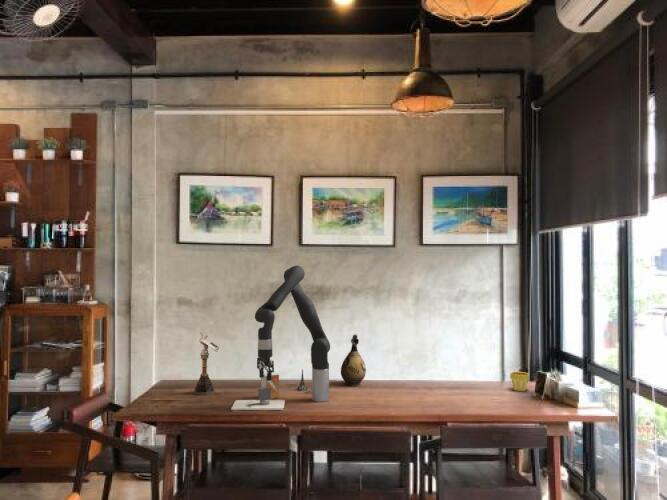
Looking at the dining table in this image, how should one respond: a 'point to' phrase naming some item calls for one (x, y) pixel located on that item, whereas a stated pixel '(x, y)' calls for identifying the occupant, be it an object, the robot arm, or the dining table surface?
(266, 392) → the tuning knob
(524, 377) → the plant pot
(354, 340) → the ceramic jug
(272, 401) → the gauge board
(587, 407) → the dining table surface
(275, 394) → the small box
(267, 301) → the robot arm
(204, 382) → the pedestal telescope
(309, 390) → the eiffel tower figurine
